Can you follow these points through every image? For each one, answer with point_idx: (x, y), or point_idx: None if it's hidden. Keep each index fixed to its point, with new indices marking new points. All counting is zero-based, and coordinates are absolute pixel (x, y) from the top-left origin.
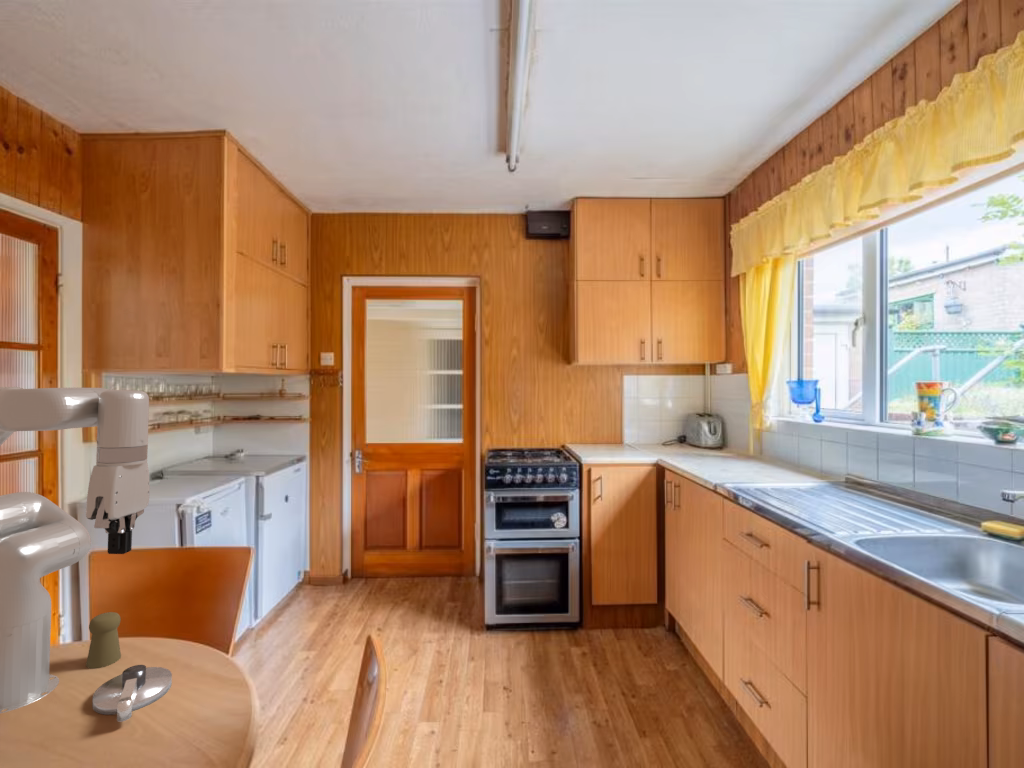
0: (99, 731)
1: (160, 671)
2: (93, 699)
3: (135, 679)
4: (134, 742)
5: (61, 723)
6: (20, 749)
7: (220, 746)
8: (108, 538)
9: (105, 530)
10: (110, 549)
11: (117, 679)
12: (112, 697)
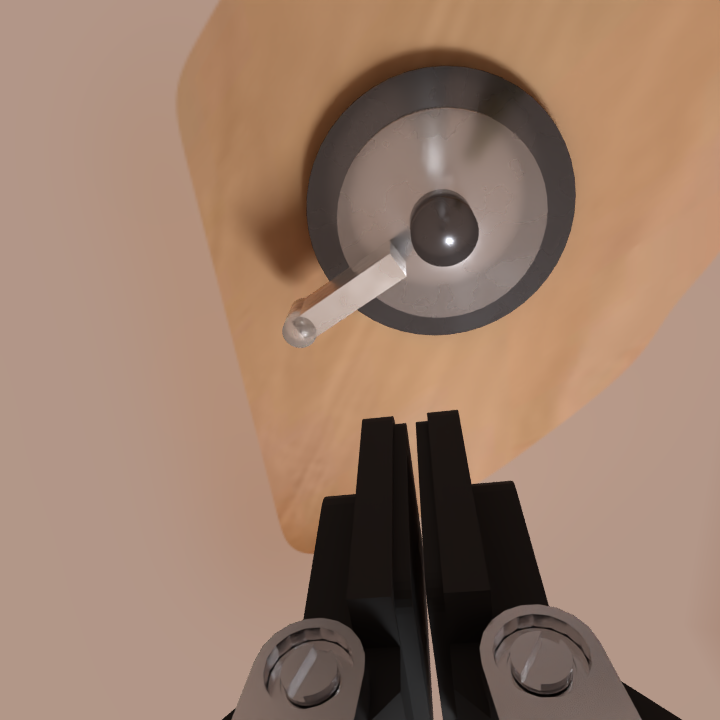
0: (304, 232)
1: (521, 244)
2: (357, 156)
3: (397, 279)
4: (288, 347)
5: (312, 88)
6: (203, 81)
7: (312, 515)
8: (352, 536)
9: (247, 680)
10: (328, 502)
11: (467, 136)
12: (375, 208)
